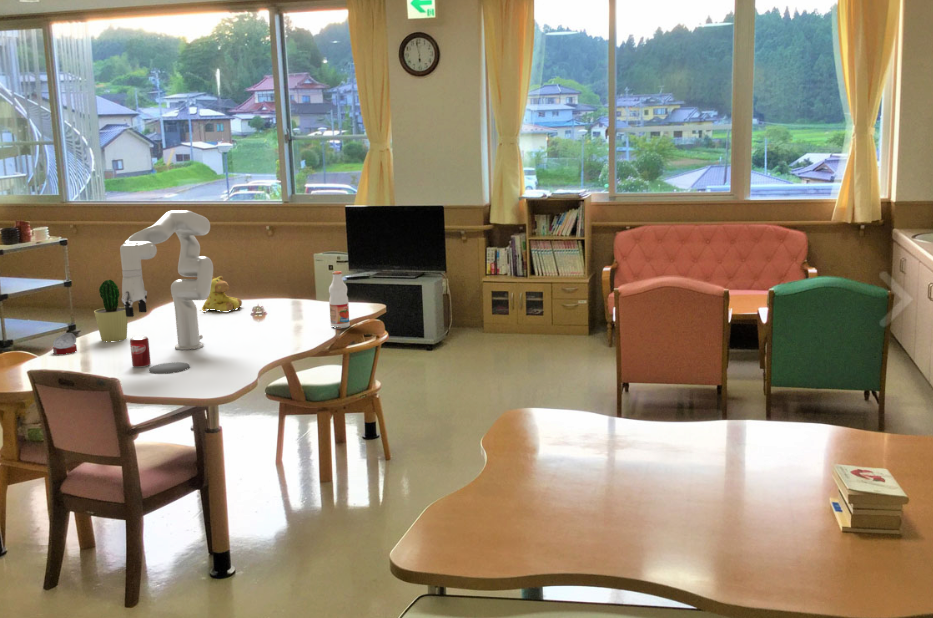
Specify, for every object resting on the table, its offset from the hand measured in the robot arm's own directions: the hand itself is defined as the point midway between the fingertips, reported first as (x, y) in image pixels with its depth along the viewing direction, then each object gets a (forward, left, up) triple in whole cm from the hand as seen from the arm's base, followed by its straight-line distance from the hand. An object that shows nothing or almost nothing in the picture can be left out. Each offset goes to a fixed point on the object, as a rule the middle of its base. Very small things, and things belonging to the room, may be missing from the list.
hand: (136, 314), depth 361 cm
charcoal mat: (+4, +15, -22) cm, 27 cm away
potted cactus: (-49, -44, -22) cm, 70 cm away
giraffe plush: (-129, -27, -23) cm, 134 cm away
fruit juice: (-84, +59, -22) cm, 105 cm away
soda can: (0, 0, -22) cm, 22 cm away
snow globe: (-22, -52, -23) cm, 61 cm away
